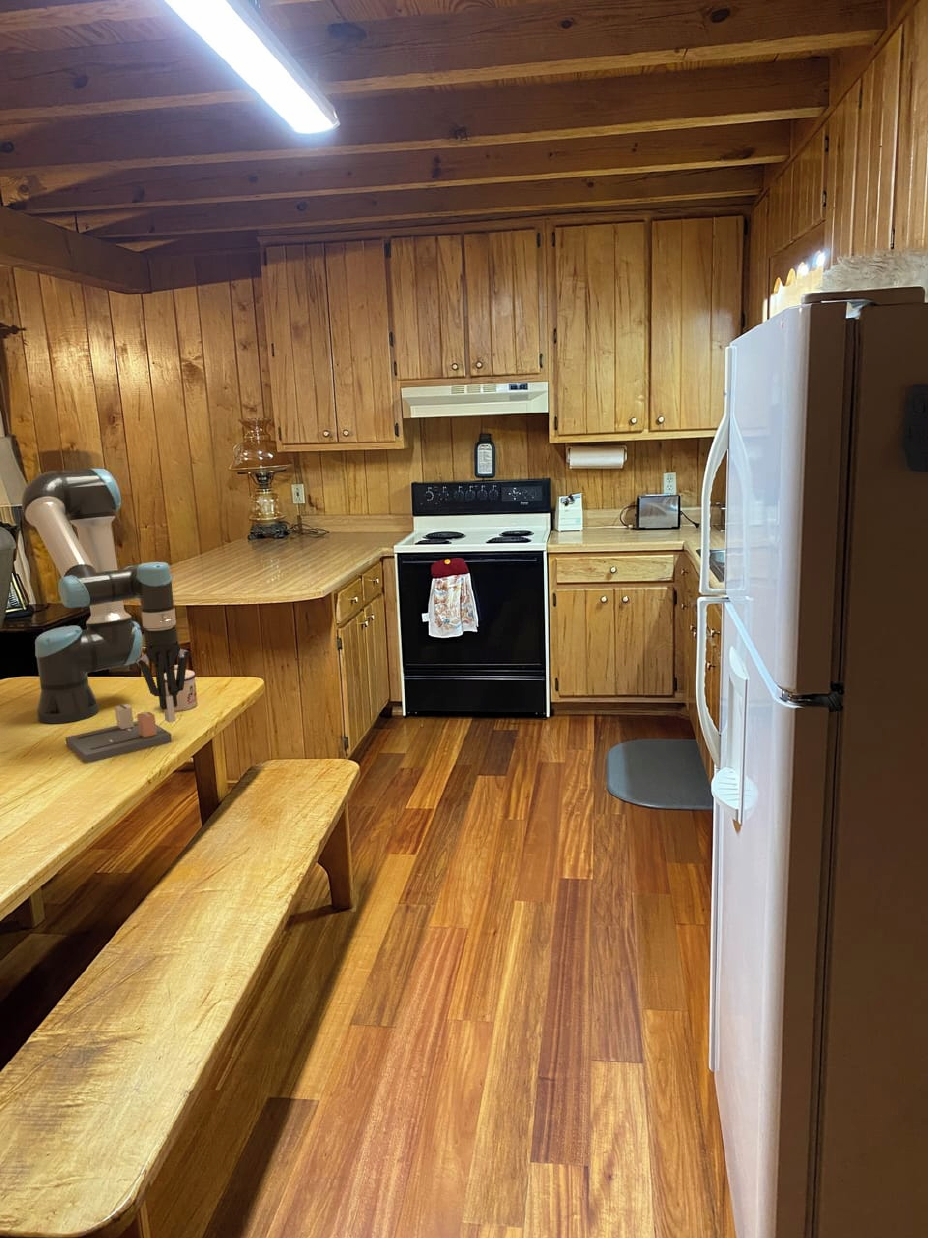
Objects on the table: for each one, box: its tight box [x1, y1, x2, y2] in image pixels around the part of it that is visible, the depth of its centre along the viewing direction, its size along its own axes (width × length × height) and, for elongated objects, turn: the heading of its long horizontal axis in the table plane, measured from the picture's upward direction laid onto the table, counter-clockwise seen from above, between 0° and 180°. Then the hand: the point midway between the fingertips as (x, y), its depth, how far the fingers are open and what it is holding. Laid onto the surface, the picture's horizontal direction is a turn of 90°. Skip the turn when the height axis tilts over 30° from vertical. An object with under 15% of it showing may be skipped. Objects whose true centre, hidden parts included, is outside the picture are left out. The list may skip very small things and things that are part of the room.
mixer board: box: [65, 720, 173, 764], centre depth 218 cm, size 16×20×2 cm
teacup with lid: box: [164, 664, 198, 712], centre depth 246 cm, size 12×9×12 cm
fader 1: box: [114, 703, 134, 729], centre depth 223 cm, size 4×3×5 cm
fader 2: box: [136, 711, 157, 738], centre depth 216 cm, size 4×3×5 cm
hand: (170, 720), depth 220 cm, fingers closed
